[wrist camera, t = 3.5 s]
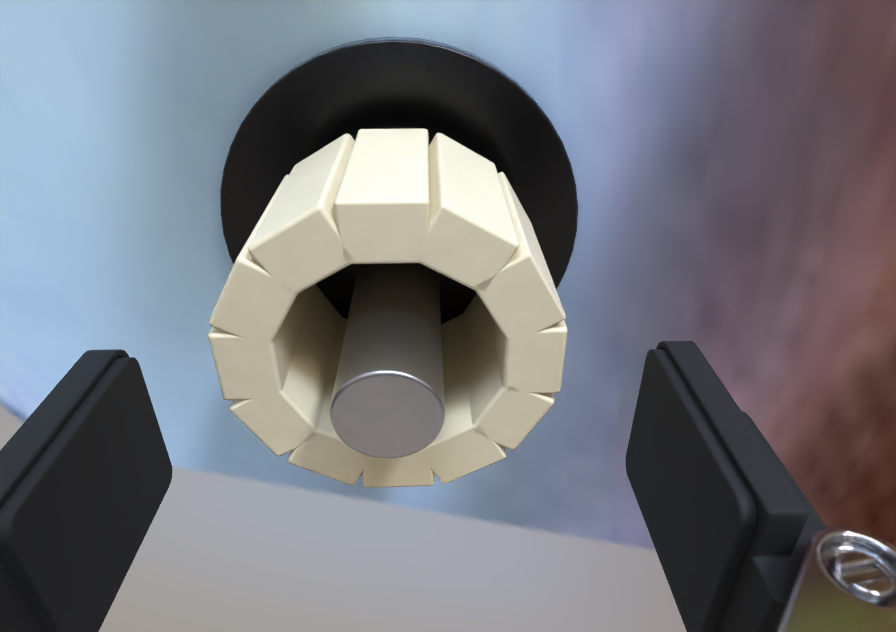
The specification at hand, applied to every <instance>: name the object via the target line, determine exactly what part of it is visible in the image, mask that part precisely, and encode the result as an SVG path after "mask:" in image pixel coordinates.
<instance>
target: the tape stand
mask: <svg viewBox="0 0 896 632" xmlns="http://www.w3.org/2000/svg"><path fill="white" fill-rule="evenodd" d="M360 129H427V130H428V137H429V145H430V143H431V142H432V140H433V138H434V136H435V135H436V134H437V133H442V134H444V135H445V136H447V137H449V138H451V139H452V140H454V141H456V142H458V143H459V144H461V145H463V146H465V147H466V148H468V149H470V150H472V151H473V152H475V153H477V154H479V155H480V156H482V157H484V158H486V159H487V160H489V161H491V162H493V163H494V164H495V166H496V170H497V173H500V172H503V173H504V174H505V176H506V178H507V179H508V181H509V183H510V185H511V187H512V189H513V190H514V192H515V194H516V196H517V198H518V200H519V202H520V203H521V205H522V207H523V209H524V211H525V213H526V214H527V216H528V218H529V220H530V222H531V224H532V227H533V229H534V232H535V235H536V237H537V240H538V243H539V245H540V248H541V251H542V253H543V256H544V259H545V261H546V264H547V267H548V269H549V272H550V275H551V277H552V280H553V283H554V285H555V288H556V289H557V287H558V285H559V283H560V281H561V279H562V277H563V275H564V273H565V271H566V269H567V266H568V263H569V260H570V257H571V254H572V251H573V247H574V242H575V237H576V231H577V218H578V202H577V191H576V184H575V179H574V175H573V171H572V166H571V163H570V160H569V158H568V155H567V153H566V150H565V148H564V145H563V142H562V141H561V139H560V137H559V135H558V134H557V132H556V130H555V128H554V126H553V125H552V123H551V121H550V120H549V118H548V117H547V116H546V114H545V113H544V112H543V110H542V109H541V108H540V106H539V105H538V104H537V103H536V101H535V100H534V99H533V97H531V96H530V95H529V94H528V93H527V92H526V91H525V90H524V89H523V88H522V87H521V86H520V85H519V84H518V83H517V82H516V81H515V80H514V79H512V78H511V77H510V76H508V75H507V74H505V73H504V72H503V71H501V70H500V69H499V68H497V67H496V66H495V65H493V64H491V63H489V62H487V61H485V60H483V59H481V58H480V57H478V56H476V55H474V54H472V53H470V52H467V51H464V50H461V49H459V48H456V47H453V46H450V45H448V44H444V43H439V42H434V41H429V40H425V39H418V38H403V37H386V38H373V39H365V40H361V41H356V42H352V43H347V44H343V45H340V46H337V47H335V48H332V49H329V50H327V51H324V52H321V53H319V54H317V55H315V56H313V57H311V58H310V59H308V60H306V61H304V62H303V63H301V64H299V65H297V66H296V67H294V68H293V69H292V70H290V71H289V72H288V73H287V74H285V75H284V76H283V77H281V78H280V79H279V80H278V81H276V82H275V83H274V84H273V85H272V86H271V87H270V88H269V89H268V90H267V91H266V93H265V94H264V95H263V96H262V97H261V98H260V99H259V100H258V101H257V102H256V103H255V104H254V106H253V107H252V109H251V110H250V112H249V113H248V115H247V116H246V117H245V119H244V120H243V122H242V123H241V125H240V127H239V129H238V131H237V133H236V136H235V138H234V140H233V142H232V144H231V146H230V150H229V153H228V156H227V159H226V163H225V166H224V171H223V177H222V184H221V219H222V226H223V233H224V237H225V241H226V244H227V248H228V251H229V255H230V257H231V259H232V262H233V264H234V263H235V261H236V259H237V257H238V255H239V253H240V252H241V250H242V248H243V247H244V245H245V243H246V242H247V240H248V238H249V236H250V235H251V233H252V231H253V230H254V228H255V226H256V224H257V223H258V221H259V219H260V218H261V216H262V214H263V213H264V211H265V209H266V207H267V206H268V204H269V202H270V201H271V199H272V197H273V195H274V194H275V192H276V190H277V189H278V187H279V185H280V184H281V182H282V180H283V178H284V177H285V176H286V175H289V174H290V172H291V171H292V169H293V167H294V166H295V165H296V164H297V163H299V162H301V161H302V160H304V159H305V158H307V157H309V156H310V155H312V154H313V153H315V152H317V151H318V150H320V149H321V148H323V147H325V146H326V145H328V144H330V143H331V142H333V141H334V140H336V139H338V138H339V137H341V136H342V135H344V134H350V135H351V136H352V138H353V139H354V141H355V140H356V137H357V134H358V131H359V130H360ZM316 285H317V287H318V288H319V289H320V290H321V292H322V293H323V294H324V295H325V297H326V298H327V299H328V300H329V302H330V303H331V304H332V305H333V307H334V308H335V309H336V310H337V312H338V313H339V314H340V315H341V317H343V318H345V319H347V325H346V330H345V335H344V340H343V345H342V350H341V355H340V360H339V365H338V370H337V375H336V380H335V385H334V390H333V395H332V400H331V405H330V419H331V423H332V426H333V428H334V430H335V432H336V434H337V435H338V436H339V438H340V439H341V440H342V441H343V442H344V443H345V444H346V445H348V446H349V447H351V448H352V449H354V450H356V451H358V452H360V453H362V454H365V455H368V456H372V457H378V458H399V457H405V456H408V455H412V454H414V453H417V452H419V451H421V450H423V449H424V448H426V447H427V446H428V445H430V444H431V443H432V442H433V441H434V440H435V438H436V437H437V436H438V434H439V433H440V431H441V429H442V427H443V423H444V419H445V406H444V382H443V359H442V336H441V325H442V324H444V323H446V322H448V321H450V320H452V319H454V318H456V317H458V316H459V315H461V314H463V313H464V311H465V310H466V308H467V307H468V305H469V304H470V302H471V301H472V299H473V298H474V297H475V295H476V294H477V292H476V291H475V290H473V289H471V288H469V287H467V286H465V285H463V284H461V283H459V282H457V281H455V280H453V279H451V278H449V277H447V276H445V275H443V274H441V273H439V272H437V271H435V270H433V269H431V268H429V267H427V266H425V265H423V264H421V263H384V264H350V265H348V266H346V267H345V268H343V269H341V270H339V271H337V272H336V273H334V274H332V275H330V276H328V277H327V278H325V279H323V280H321V281H319V282H318V283H316Z"/></svg>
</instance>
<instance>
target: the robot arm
mask: <svg viewBox="0 0 896 632" xmlns="http://www.w3.org/2000/svg"><path fill="white" fill-rule="evenodd" d="M626 470H627V475H628V478H629V480H630V483H631V486H632V488H633V491H634V494H635V496H636V499H637V501H638V504H639V507H640V509H641V512H642V515H643V517H644V520H645V523H646V525H647V528H648V530H649V533H650V536H651V538H652V541H653V544H654V546H655V549H656V552H657V554H658V557H659V559H660V562H661V565H662V567H663V570H664V572H665V575H666V578H667V580H668V583H669V585H670V588H671V591H672V594H673V596H674V599H675V601H676V604H677V607H678V609H679V612H680V614H681V617H682V620H683V623H684V625H685V628H686V630H687V632H896V547H895V546H894V545H893V544H891V543H889V542H887V541H885V540H884V539H882V538H880V537H878V536H876V535H874V534H871V533H868V532H865V531H863V530H860V529H856V528H850V527H843V526H836V527H826V526H825V525H824V523H823V522H822V520H821V519H820V517H819V516H818V514H817V513H816V512H815V510H814V509H813V507H812V506H811V504H810V503H809V501H808V500H807V499H806V497H805V496H804V494H803V493H802V491H801V490H800V488H799V487H798V486H797V484H796V483H795V481H794V480H793V478H792V477H791V475H790V474H789V473H788V471H787V470H786V468H785V467H784V465H783V464H782V462H781V461H780V460H779V458H778V457H777V455H776V454H775V452H774V451H773V449H772V448H771V446H770V445H769V444H768V442H767V441H766V439H765V438H764V436H763V435H762V433H761V432H760V431H759V429H758V428H757V426H756V425H755V423H754V422H753V420H752V419H751V418H750V417H749V416H748V415H747V414H746V413H745V412H742V411H741V410H740V408H739V407H738V405H737V404H736V403H735V401H734V400H733V398H732V397H731V395H730V394H729V392H728V391H727V389H726V388H725V386H724V385H723V383H722V382H721V380H720V379H719V378H718V376H717V375H716V373H715V372H714V370H713V369H712V367H711V366H710V364H709V363H708V361H707V360H706V358H705V357H704V356H703V354H702V353H701V351H700V350H699V348H698V347H697V345H696V344H695V343H694V342H692V341H663V342H660V343H659V344H658V346H657V348H656V349H651V350H649V351H648V353H647V356H646V361H645V366H644V371H643V376H642V380H641V385H640V390H639V395H638V400H637V405H636V410H635V415H634V419H633V424H632V429H631V434H630V439H629V444H628V449H627V454H626ZM171 478H172V465H171V462H170V459H169V455H168V452H167V449H166V446H165V443H164V440H163V437H162V434H161V431H160V427H159V424H158V421H157V418H156V415H155V412H154V409H153V406H152V403H151V399H150V396H149V393H148V390H147V387H146V384H145V381H144V378H143V375H142V371H141V368H140V365H139V363H138V361H137V360H136V359H135V358H133V357H129V356H128V354H127V353H126V352H125V351H124V350H90V351H87V352H85V353H84V354H83V355H82V356H81V358H80V359H79V360H78V361H77V362H76V363H75V364H74V366H73V367H72V368H71V369H70V370H69V371H68V373H67V374H66V375H65V376H64V377H63V378H62V380H61V381H60V382H59V383H58V384H57V385H56V387H55V388H54V389H53V390H52V391H51V392H50V394H49V395H48V396H47V397H46V398H45V399H44V401H43V402H42V403H41V404H40V405H39V406H38V408H37V409H36V410H35V411H34V412H33V413H32V414H31V416H30V417H29V418H28V419H27V420H26V421H25V423H24V424H23V425H22V426H21V427H20V429H19V430H18V431H17V432H16V433H15V434H14V435H13V437H12V438H11V439H10V440H9V441H8V442H7V444H6V445H5V446H4V447H3V448H2V450H1V451H0V632H98V631H99V629H100V627H101V625H102V623H103V621H104V619H105V617H106V615H107V613H108V611H109V609H110V607H111V605H112V602H113V601H114V599H115V597H116V594H117V592H118V590H119V588H120V586H121V584H122V582H123V580H124V578H125V576H126V574H127V572H128V570H129V568H130V566H131V564H132V562H133V560H134V557H135V555H136V553H137V551H138V549H139V547H140V545H141V543H142V541H143V539H144V537H145V535H146V533H147V531H148V529H149V527H150V524H151V523H152V520H153V518H154V516H155V514H156V512H157V510H158V508H159V506H160V504H161V502H162V500H163V498H164V496H165V494H166V492H167V490H168V488H169V485H170V482H171Z"/></svg>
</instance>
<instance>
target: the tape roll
mask: <svg viewBox="0 0 896 632" xmlns="http://www.w3.org/2000/svg"><path fill="white" fill-rule="evenodd" d="M384 263H421V264H423V265H425V266H427V267H429V268H431V269H433V270H435V271H437V272H439V273H441V274H443V275H445V276H447V277H449V278H451V279H453V280H455V281H457V282H459V283H461V284H463V285H465V286H467V287H469V288H471V289H473V290H475V291H476V292H477V294H476V295H475V297H474V298H473V299H472V301H471V302H470V304H469V305H468V307H467V308H466V310H465V311H464V313H463V314H461V315H459V316H458V317H456V318H454V319H452V320H450V321H448V322H446V323H444V324H442V325H441V336H442V359H443V382H444V406H445V419H444V423H443V427H442V429H441V431H440V433H439V434H438V436H437V437H436V438H435V440H434V441H433V442H432V443H431V444H430V445H428V446H427V447H426V448H424V449H423V450H421V451H419V452H417V453H414V454H412V455H408V456H405V457H399V458H378V457H372V456H368V455H365V454H362V453H360V452H358V451H356V450H354V449H352V448H351V447H349V446H348V445H346V444H345V443H344V442H343V441H342V440H341V439H340V438H339V436H338V435H337V434H336V432H335V430H334V428H333V426H332V423H331V419H330V405H331V400H332V395H333V390H334V385H335V380H336V375H337V370H338V365H339V360H340V355H341V350H342V345H343V340H344V335H345V330H346V325H347V319H345V318H343V317H341V315H340V314H339V313H338V312H337V310H336V309H335V308H334V307H333V305H332V304H331V303H330V302H329V300H328V299H327V298H326V297H325V295H324V294H323V293H322V292H321V290H320V289H319V288H318V287H317V285H316V283H318V282H319V281H321V280H323V279H325V278H327V277H328V276H330V275H332V274H334V273H336V272H337V271H339V270H341V269H343V268H345V267H346V266H348V265H350V264H384ZM564 319H566V315H565V312H564V309H563V307H562V304H561V301H560V299H559V296H558V293H557V291H556V288H555V285H554V283H553V280H552V277H551V275H550V272H549V269H548V267H547V264H546V261H545V259H544V256H543V253H542V251H541V248H540V245H539V243H538V240H537V237H536V235H535V232H534V229H533V227H532V224H531V222H530V220H529V218H528V216H527V214H526V213H525V211H524V209H523V207H522V205H521V203H520V202H519V200H518V198H517V196H516V194H515V192H514V190H513V189H512V187H511V185H510V183H509V181H508V179H507V178H506V176H505V174H504V173H503V172H500V173H497V170H496V166H495V164H494V163H493V162H491V161H489V160H487V159H486V158H484V157H482V156H480V155H479V154H477V153H475V152H473V151H472V150H470V149H468V148H466V147H465V146H463V145H461V144H459V143H458V142H456V141H454V140H452V139H451V138H449V137H447V136H445V135H444V134H442V133H437V134H436V135H435V136H434V138H433V140H432V142H431V143H430V145H429V137H428V130H427V129H360V130H359V131H358V134H357V137H356V140H355V141H354V139H353V138H352V136H351V135H350V134H344V135H342V136H341V137H339V138H338V139H336V140H334V141H333V142H331V143H330V144H328V145H326V146H325V147H323V148H321V149H320V150H318V151H317V152H315V153H313V154H312V155H310V156H309V157H307V158H305V159H304V160H302V161H301V162H299V163H297V164H296V165H295V166H294V167H293V169H292V171H291V172H290V174H289V175H286V176H285V177H284V178H283V180H282V182H281V184H280V185H279V187H278V189H277V190H276V192H275V194H274V195H273V197H272V199H271V201H270V202H269V204H268V206H267V207H266V209H265V211H264V213H263V214H262V216H261V218H260V219H259V221H258V223H257V224H256V226H255V228H254V230H253V231H252V233H251V235H250V236H249V238H248V240H247V242H246V243H245V245H244V247H243V248H242V250H241V252H240V253H239V255H238V257H237V259H236V261H235V263H234V265H233V268H232V270H231V272H230V274H229V277H228V279H227V281H226V283H225V286H224V288H223V290H222V293H221V295H220V297H219V299H218V302H217V304H216V306H215V308H214V311H213V313H212V315H211V318H210V320H209V322H210V325H211V326H213V327H212V329H211V331H210V333H209V336H208V338H209V342H210V346H211V350H212V354H213V358H214V362H215V366H216V370H217V374H218V378H219V382H220V386H221V390H222V394H223V398H224V399H225V400H233V402H232V404H231V407H230V410H231V412H233V413H234V414H235V415H236V416H237V417H238V418H239V419H240V420H241V421H242V422H243V423H244V424H245V425H246V426H247V427H248V428H249V429H250V430H251V431H252V432H253V433H254V434H255V435H256V436H257V437H258V438H259V439H260V440H261V441H262V442H263V443H264V444H265V445H266V446H267V447H268V448H269V449H270V450H271V451H272V452H274V453H275V454H276V455H277V456H281V455H283V454H285V453H287V452H289V451H290V453H289V457H288V462H289V463H291V464H293V465H296V466H299V467H302V468H305V469H307V470H310V471H313V472H316V473H318V474H321V475H324V476H327V477H329V478H332V479H335V480H338V481H341V482H343V483H346V484H349V485H354V484H355V483H356V481H357V480H358V478H359V477H360V475H361V474H362V478H363V484H364V486H365V487H407V486H431V485H433V483H434V473H435V475H436V476H437V477H438V478H439V479H440V480H441V482H442V483H443V484H446V483H449V482H451V481H453V480H456V479H458V478H460V477H463V476H465V475H467V474H470V473H472V472H474V471H476V470H479V469H481V468H483V467H486V466H488V465H490V464H493V463H495V462H497V461H500V460H502V459H504V458H506V453H505V447H506V448H508V449H511V450H514V449H516V448H517V447H518V446H519V444H520V443H521V442H522V441H523V440H524V439H525V437H526V436H527V435H528V434H529V433H530V432H531V430H532V429H533V428H534V427H535V426H536V424H537V423H538V422H539V421H540V420H541V419H542V417H543V416H544V415H545V414H546V413H547V412H548V410H549V409H550V408H551V407H552V406H553V404H554V401H555V400H554V396H553V393H558V392H559V391H560V389H561V382H562V374H563V366H564V358H565V350H566V342H567V334H568V329H567V326H566V324H565V321H564Z"/></svg>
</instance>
